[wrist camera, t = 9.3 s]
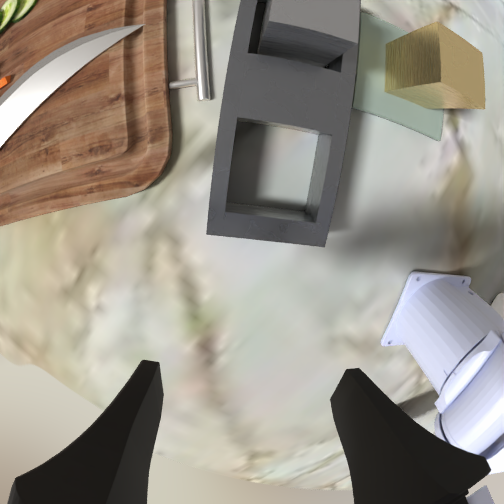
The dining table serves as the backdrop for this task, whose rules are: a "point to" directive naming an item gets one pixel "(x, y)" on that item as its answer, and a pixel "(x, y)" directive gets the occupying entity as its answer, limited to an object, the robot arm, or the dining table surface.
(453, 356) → the robot arm
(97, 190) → the chopping board
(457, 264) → the dining table surface
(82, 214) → the dining table surface
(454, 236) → the dining table surface
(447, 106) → the tan wooden block
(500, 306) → the bust
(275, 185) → the dining table surface
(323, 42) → the gray metal block
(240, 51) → the gray slotted board
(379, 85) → the mat
